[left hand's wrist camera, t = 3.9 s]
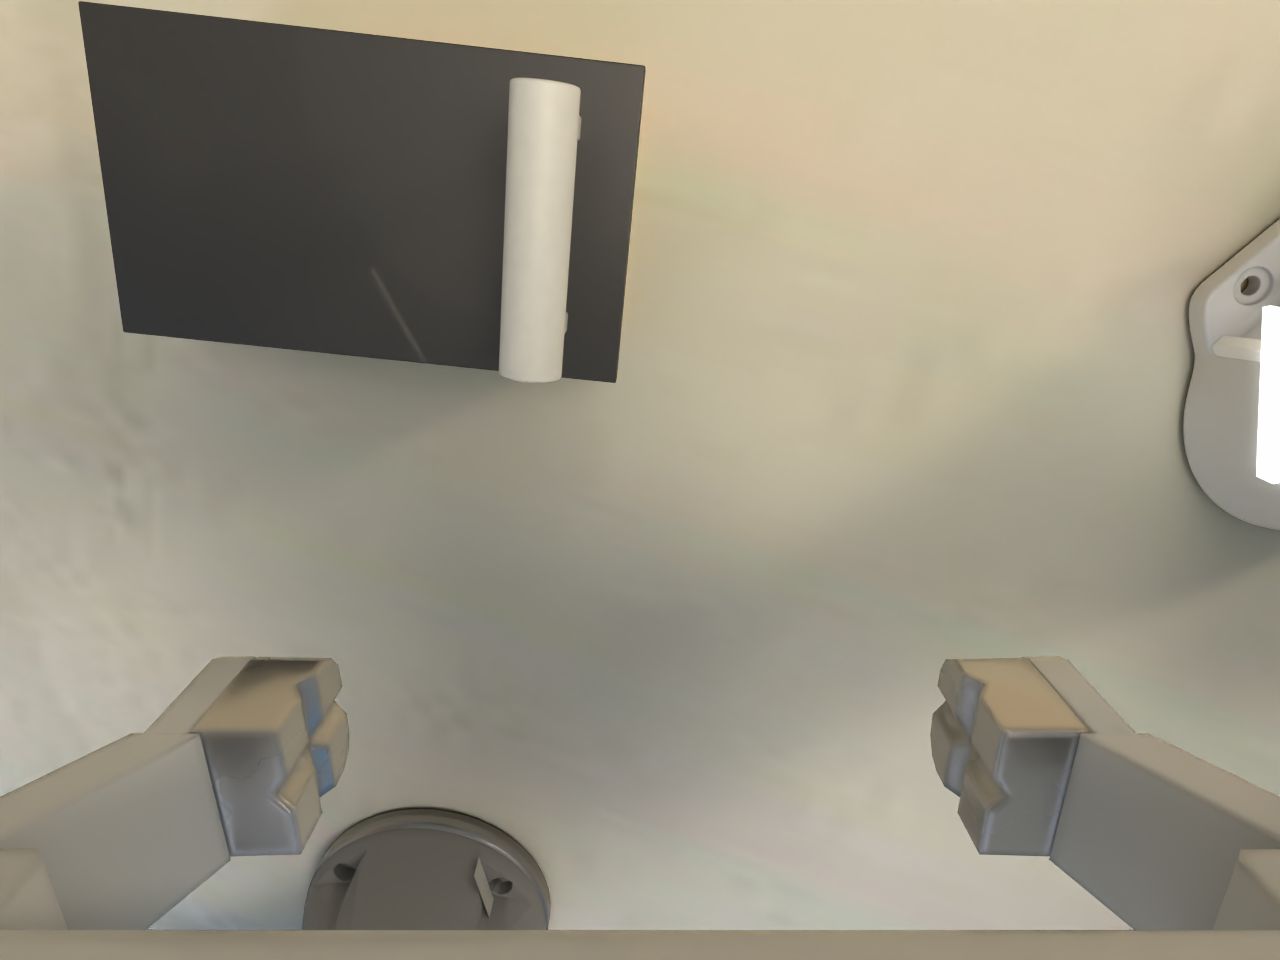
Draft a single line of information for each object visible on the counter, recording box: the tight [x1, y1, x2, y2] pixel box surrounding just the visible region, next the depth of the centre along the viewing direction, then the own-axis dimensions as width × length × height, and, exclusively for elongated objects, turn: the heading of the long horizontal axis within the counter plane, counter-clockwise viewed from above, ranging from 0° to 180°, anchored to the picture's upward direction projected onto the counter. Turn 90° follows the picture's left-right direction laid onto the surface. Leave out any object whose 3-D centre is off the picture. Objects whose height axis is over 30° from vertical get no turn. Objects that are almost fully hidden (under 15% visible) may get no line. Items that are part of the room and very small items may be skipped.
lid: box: [79, 1, 645, 383], centre depth 22 cm, size 17×10×8 cm, turn 84°
